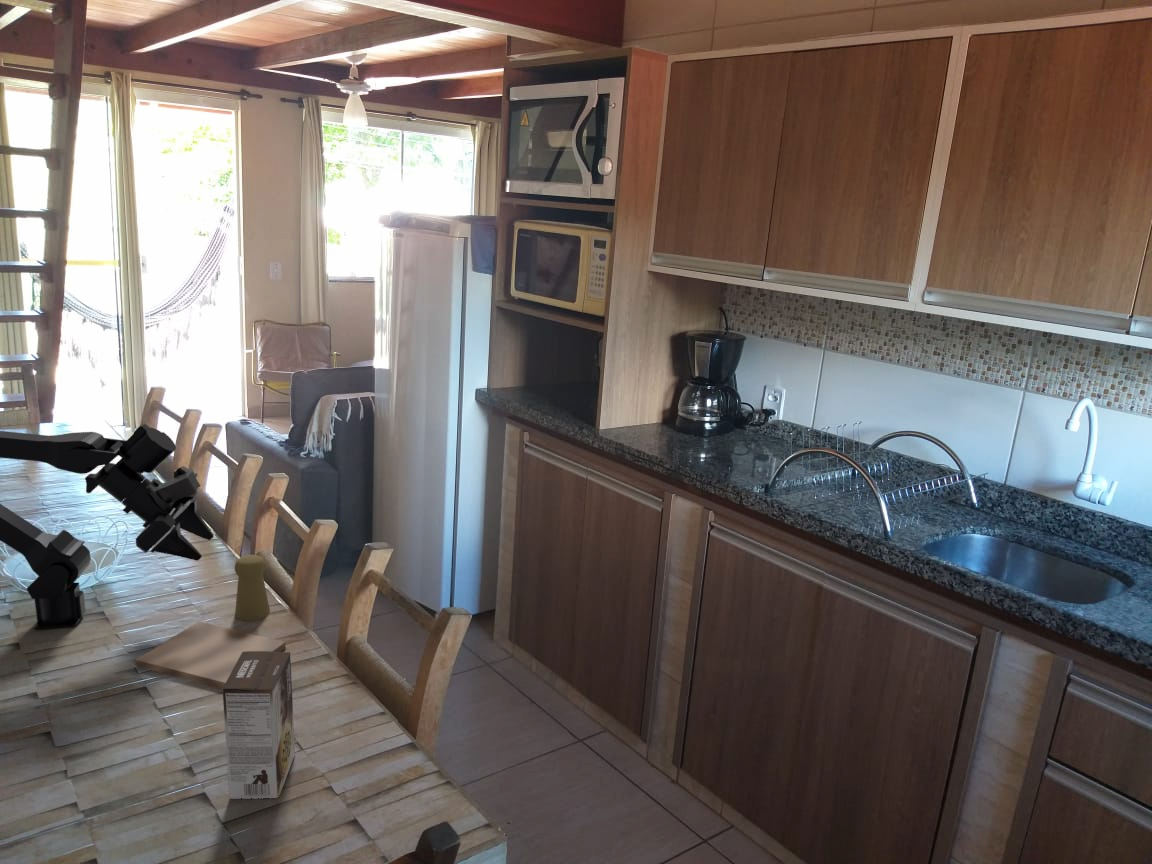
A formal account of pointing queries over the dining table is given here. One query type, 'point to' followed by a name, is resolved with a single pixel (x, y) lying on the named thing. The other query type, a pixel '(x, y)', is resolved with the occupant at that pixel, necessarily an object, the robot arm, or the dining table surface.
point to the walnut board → (205, 653)
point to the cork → (251, 588)
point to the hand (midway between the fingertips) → (206, 548)
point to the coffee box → (259, 724)
